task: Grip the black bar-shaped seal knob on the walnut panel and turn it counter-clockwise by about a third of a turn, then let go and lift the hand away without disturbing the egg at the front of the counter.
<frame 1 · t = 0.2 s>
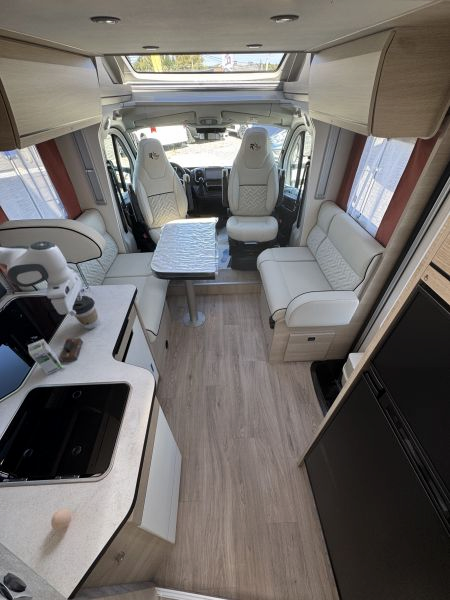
hand: (77, 306, 108), 20 cm above the worktop, tool pointing down, fingers open, 8 cm apart
syrup box: (54, 367, 109), on the worktop
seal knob: (68, 344, 111), point 5 cm above the worktop, hinge at 0.0°
coffee cup: (92, 324, 128), on the worktop
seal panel: (73, 351, 115), on the worktop
egg: (66, 520, 71), on the worktop
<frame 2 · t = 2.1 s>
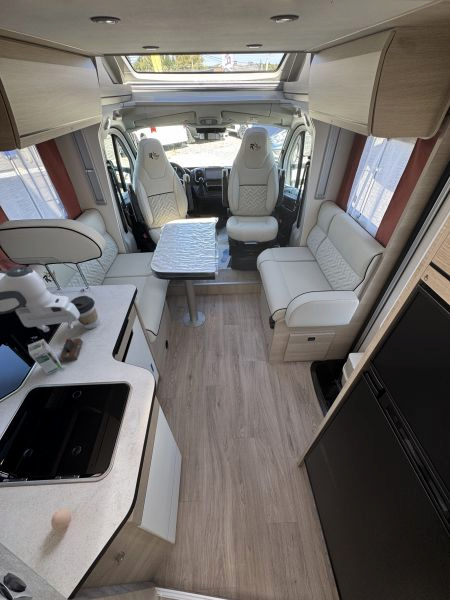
hand: (59, 329, 105), 15 cm above the worktop, tool pointing down, fingers open, 8 cm apart
nothing on the worktop moved.
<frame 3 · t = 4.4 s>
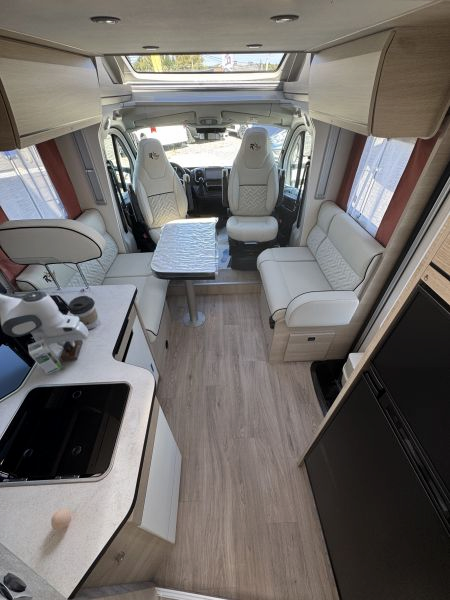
hand: (69, 346, 112), 4 cm above the worktop, tool pointing down, fingers closed on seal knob, 2 cm apart
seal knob: (68, 344, 111), point 5 cm above the worktop, hinge at 0.1°, touching gripper
everything else where it was.
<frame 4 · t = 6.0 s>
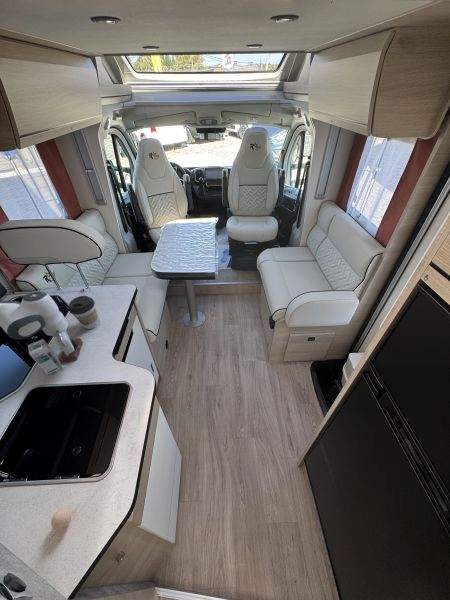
hand: (69, 346, 112), 4 cm above the worktop, tool pointing down, fingers closed on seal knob, 2 cm apart
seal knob: (68, 344, 111), point 5 cm above the worktop, hinge at 119.9°, touching gripper
everything else where it was.
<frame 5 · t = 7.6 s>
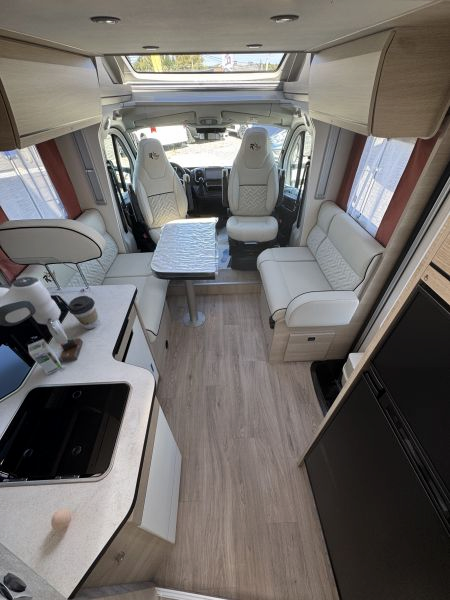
hand: (62, 335, 108), 11 cm above the worktop, tool pointing down, fingers open, 8 cm apart
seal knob: (68, 344, 111), point 5 cm above the worktop, hinge at 119.9°
everything else where it was.
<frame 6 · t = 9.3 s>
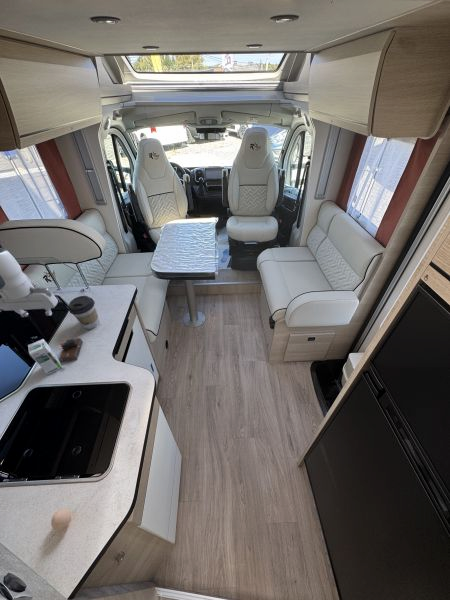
hand: (37, 315, 101), 22 cm above the worktop, tool pointing down, fingers open, 8 cm apart
nothing on the worktop moved.
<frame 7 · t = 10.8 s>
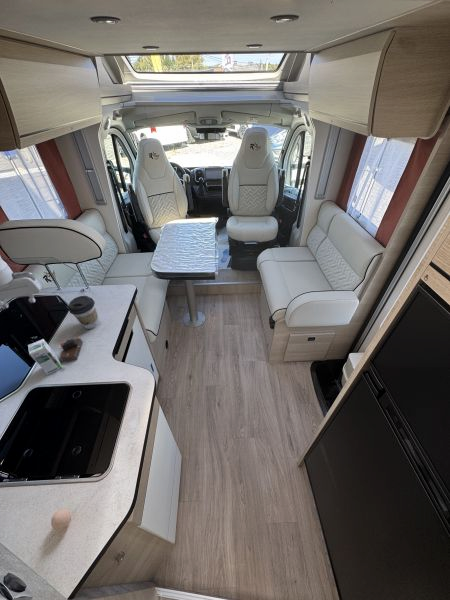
hand: (19, 304, 99), 27 cm above the worktop, tool pointing down, fingers open, 8 cm apart
nothing on the worktop moved.
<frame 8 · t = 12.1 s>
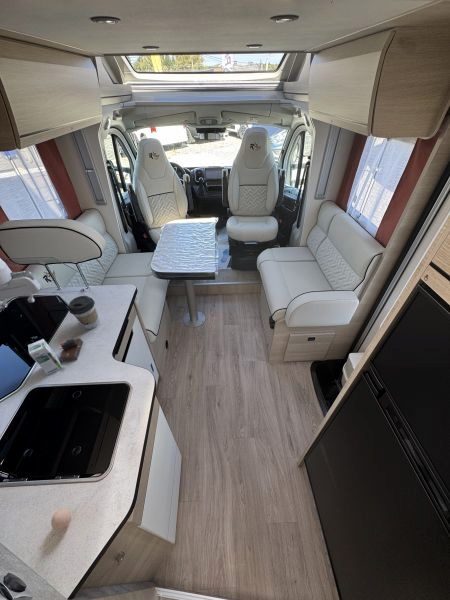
hand: (19, 304, 99), 27 cm above the worktop, tool pointing down, fingers open, 8 cm apart
nothing on the worktop moved.
at the end: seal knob at +120° (first picture: +0°); the gripper is holding nothing; egg moved 0.2 cm from its start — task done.
